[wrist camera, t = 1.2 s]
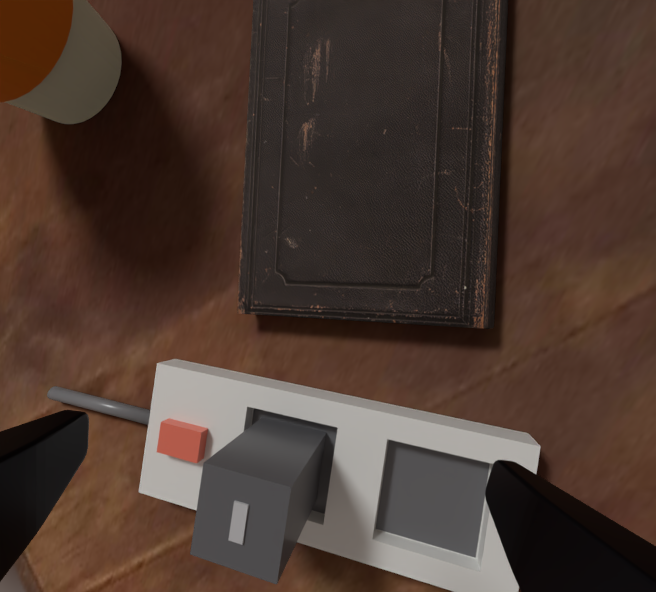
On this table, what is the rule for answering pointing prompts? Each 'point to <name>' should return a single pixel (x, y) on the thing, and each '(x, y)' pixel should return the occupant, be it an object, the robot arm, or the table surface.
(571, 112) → the table surface
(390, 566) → the power strip
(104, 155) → the table surface
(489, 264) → the hardcover book
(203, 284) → the table surface
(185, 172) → the table surface
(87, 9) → the reusable coffee cup
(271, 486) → the block
